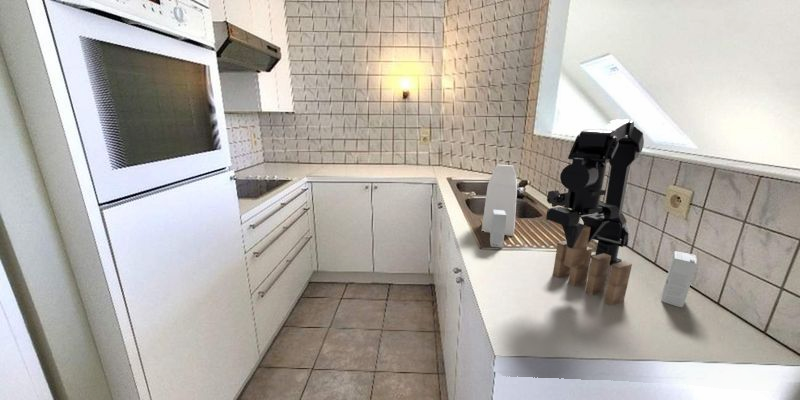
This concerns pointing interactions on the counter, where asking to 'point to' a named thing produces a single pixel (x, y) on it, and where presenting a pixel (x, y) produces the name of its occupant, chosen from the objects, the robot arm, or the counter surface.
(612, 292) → the domino
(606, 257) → the domino
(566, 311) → the counter surface
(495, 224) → the skincare box
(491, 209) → the milk
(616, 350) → the counter surface
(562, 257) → the domino
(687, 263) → the skincare box
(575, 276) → the domino
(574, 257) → the domino
